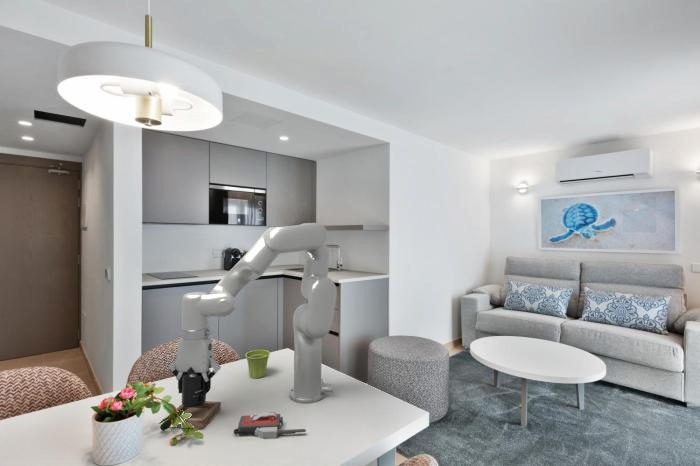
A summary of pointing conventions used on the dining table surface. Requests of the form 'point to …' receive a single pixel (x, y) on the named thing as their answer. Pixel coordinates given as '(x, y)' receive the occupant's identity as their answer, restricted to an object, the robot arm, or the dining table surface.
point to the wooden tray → (200, 414)
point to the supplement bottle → (192, 389)
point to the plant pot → (257, 362)
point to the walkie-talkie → (263, 425)
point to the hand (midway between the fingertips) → (194, 391)
